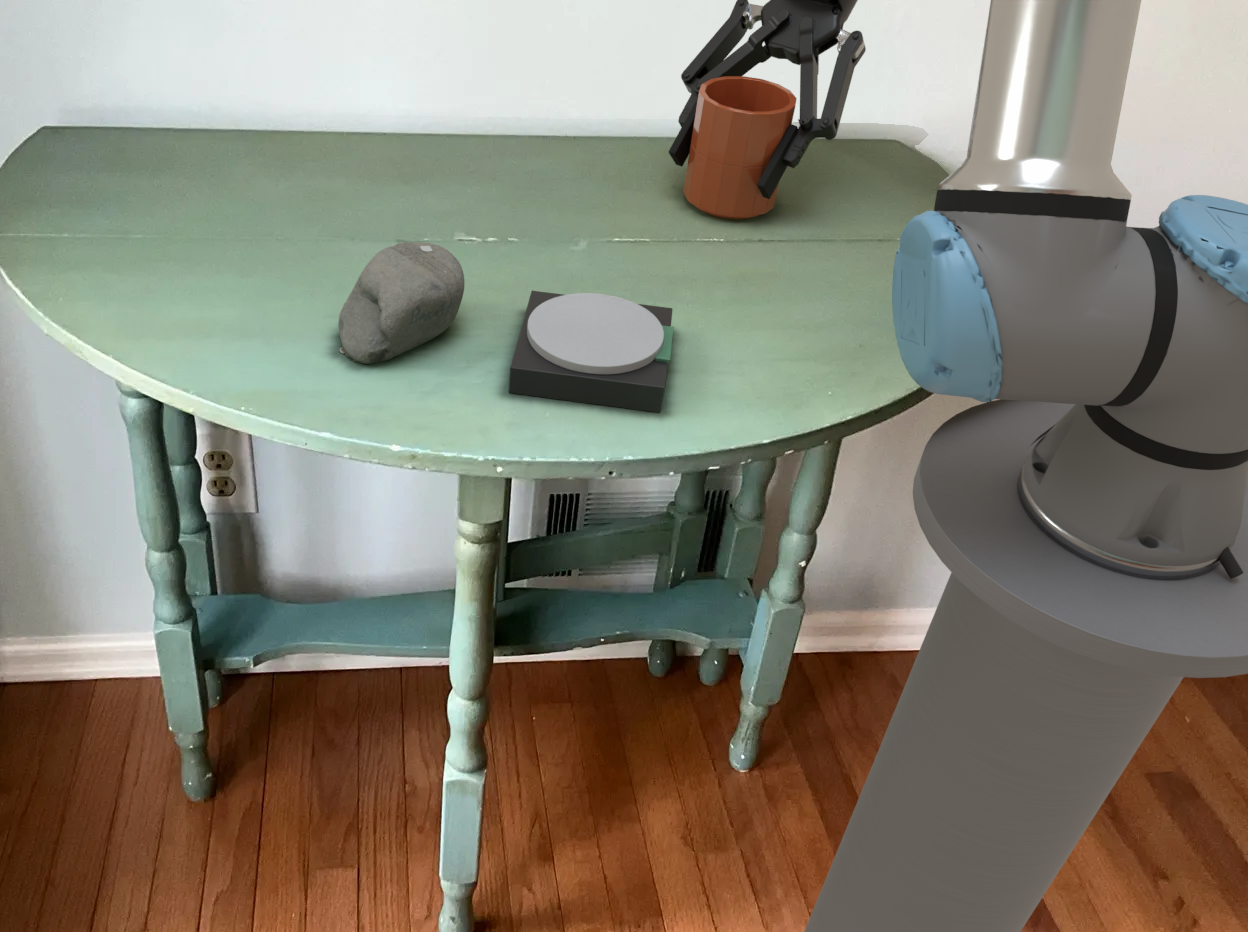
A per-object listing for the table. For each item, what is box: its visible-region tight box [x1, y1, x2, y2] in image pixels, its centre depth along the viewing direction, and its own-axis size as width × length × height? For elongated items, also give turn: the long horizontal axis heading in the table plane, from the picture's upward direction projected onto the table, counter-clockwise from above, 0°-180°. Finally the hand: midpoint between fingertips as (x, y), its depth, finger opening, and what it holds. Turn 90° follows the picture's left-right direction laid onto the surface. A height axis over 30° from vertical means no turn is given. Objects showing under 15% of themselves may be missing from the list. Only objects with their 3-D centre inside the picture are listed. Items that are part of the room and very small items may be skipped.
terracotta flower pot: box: [682, 75, 797, 220], centre depth 117 cm, size 9×9×11 cm
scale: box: [508, 290, 674, 413], centre depth 96 cm, size 12×12×3 cm
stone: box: [337, 241, 465, 365], centre depth 98 cm, size 9×9×10 cm
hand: (718, 175), depth 116 cm, fingers open, 9 cm apart
